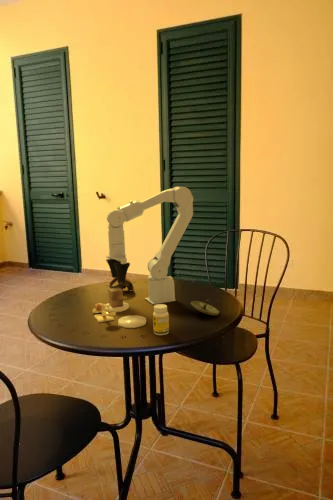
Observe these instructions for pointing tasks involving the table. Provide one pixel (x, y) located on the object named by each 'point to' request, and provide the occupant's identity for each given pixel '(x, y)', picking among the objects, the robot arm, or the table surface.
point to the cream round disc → (132, 321)
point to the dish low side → (118, 309)
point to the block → (115, 297)
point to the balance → (103, 313)
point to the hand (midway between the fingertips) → (118, 279)
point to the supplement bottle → (160, 320)
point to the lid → (205, 308)
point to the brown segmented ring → (122, 284)
